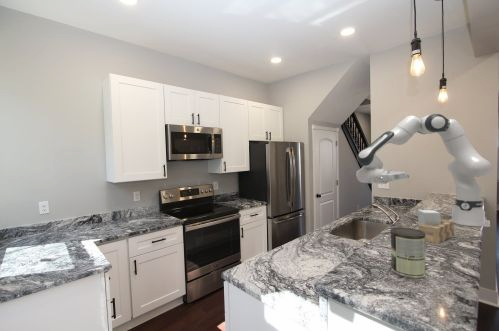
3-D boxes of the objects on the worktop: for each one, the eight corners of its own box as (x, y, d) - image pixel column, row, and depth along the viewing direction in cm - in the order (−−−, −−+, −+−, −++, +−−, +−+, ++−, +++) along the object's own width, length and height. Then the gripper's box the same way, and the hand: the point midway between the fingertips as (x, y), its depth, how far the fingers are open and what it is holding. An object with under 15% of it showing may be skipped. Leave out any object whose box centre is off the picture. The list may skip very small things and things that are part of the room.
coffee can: (384, 267, 91) (383, 228, 91) (407, 264, 94) (406, 226, 94) (409, 280, 81) (408, 236, 81) (433, 275, 84) (433, 233, 84)
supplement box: (441, 238, 122) (441, 212, 122) (424, 238, 124) (423, 212, 124) (434, 234, 129) (433, 210, 129) (417, 233, 131) (417, 209, 131)
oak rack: (435, 231, 134) (434, 218, 134) (453, 235, 127) (453, 221, 127) (418, 239, 122) (418, 225, 121) (438, 243, 115) (438, 228, 115)
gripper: (373, 172, 145) (399, 172, 134) (390, 170, 157) (415, 169, 146) (374, 183, 145) (400, 183, 134) (391, 180, 157) (416, 180, 146)
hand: (408, 176), depth 140 cm, fingers closed
